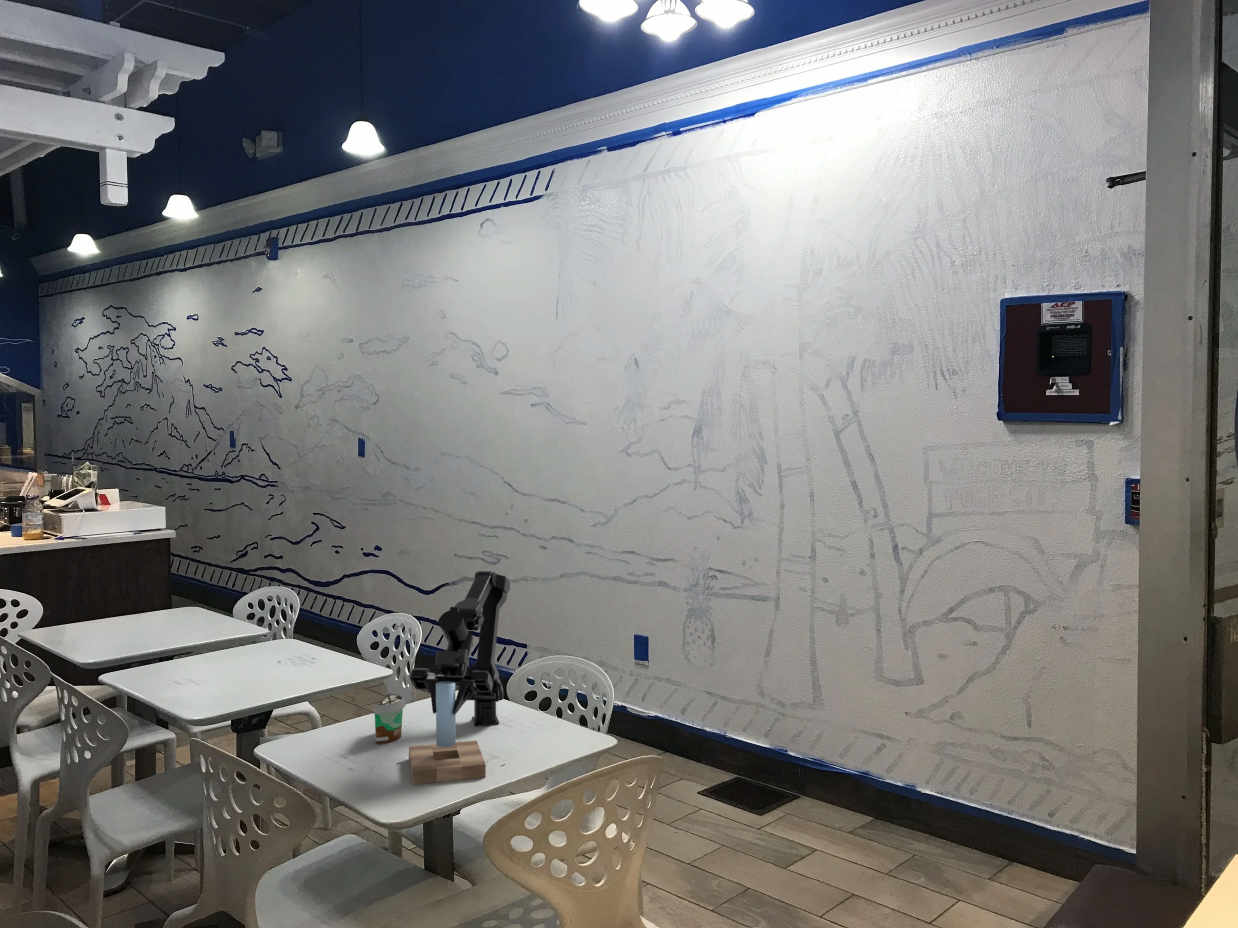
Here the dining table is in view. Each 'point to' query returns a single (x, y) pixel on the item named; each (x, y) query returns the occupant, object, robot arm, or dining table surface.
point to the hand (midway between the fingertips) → (443, 713)
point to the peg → (445, 714)
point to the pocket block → (446, 762)
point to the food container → (389, 718)
